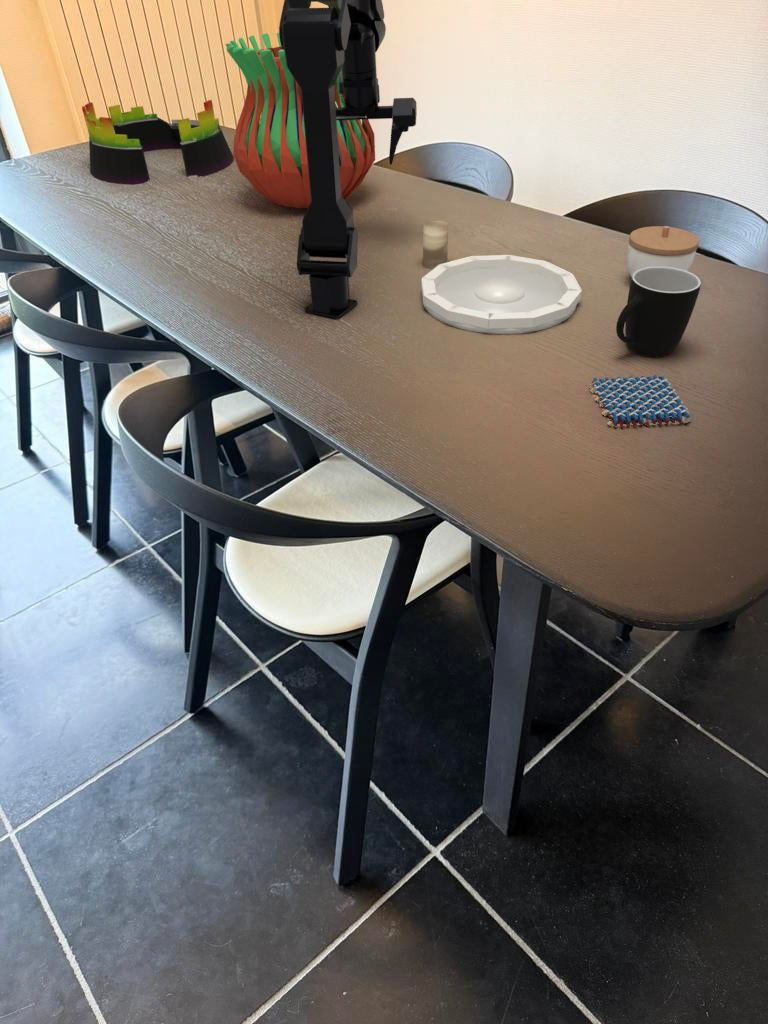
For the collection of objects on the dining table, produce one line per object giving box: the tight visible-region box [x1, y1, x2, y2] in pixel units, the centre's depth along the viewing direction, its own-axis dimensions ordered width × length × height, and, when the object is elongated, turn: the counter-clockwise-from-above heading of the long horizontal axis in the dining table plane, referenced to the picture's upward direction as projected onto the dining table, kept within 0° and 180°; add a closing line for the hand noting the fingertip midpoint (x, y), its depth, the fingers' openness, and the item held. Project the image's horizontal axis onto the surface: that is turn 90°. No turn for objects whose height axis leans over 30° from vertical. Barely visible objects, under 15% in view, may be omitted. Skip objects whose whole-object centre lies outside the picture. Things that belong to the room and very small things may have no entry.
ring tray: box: [420, 254, 583, 335], centre depth 115 cm, size 25×25×2 cm
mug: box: [615, 266, 702, 358], centre depth 98 cm, size 12×9×10 cm
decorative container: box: [81, 99, 235, 186], centre depth 180 cm, size 37×37×15 cm
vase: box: [225, 32, 376, 209], centre depth 149 cm, size 30×30×30 cm
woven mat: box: [587, 374, 691, 428], centre depth 90 cm, size 10×11×2 cm
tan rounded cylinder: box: [422, 220, 449, 270], centre depth 126 cm, size 4×4×7 cm
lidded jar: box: [626, 225, 700, 278], centre depth 116 cm, size 11×11×9 cm
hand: (365, 164), depth 129 cm, fingers open, 9 cm apart
